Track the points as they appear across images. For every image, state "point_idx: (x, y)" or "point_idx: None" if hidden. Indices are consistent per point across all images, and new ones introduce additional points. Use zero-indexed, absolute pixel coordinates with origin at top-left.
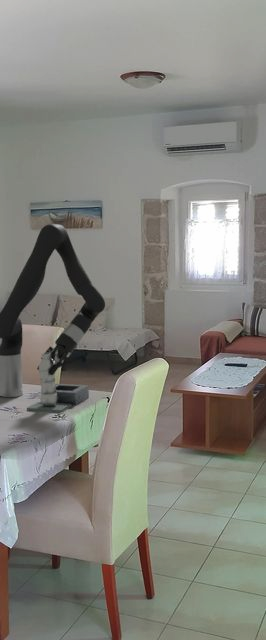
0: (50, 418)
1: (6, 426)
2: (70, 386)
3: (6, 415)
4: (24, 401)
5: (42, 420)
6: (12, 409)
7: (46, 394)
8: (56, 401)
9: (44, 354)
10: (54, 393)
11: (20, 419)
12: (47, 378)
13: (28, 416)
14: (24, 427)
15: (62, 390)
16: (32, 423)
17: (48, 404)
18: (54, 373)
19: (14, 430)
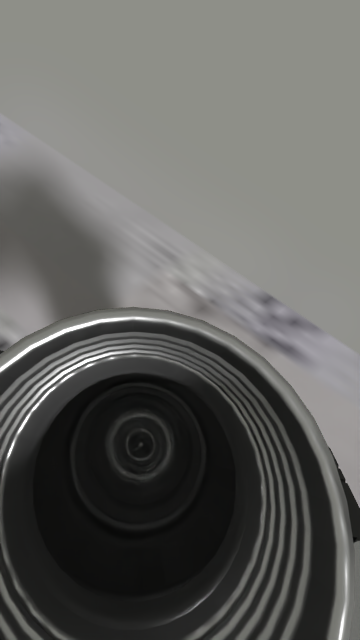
0: (2, 324)
1: (79, 170)
2: None
3: (201, 252)
4: (356, 453)
5: (14, 284)
6: (263, 321)
7: (113, 401)
8: (91, 465)
9: (59, 325)
10: (87, 458)
11: (107, 246)
12: (82, 396)
13: (114, 290)
14: (10, 191)
15: None
16: (21, 236)
17: (109, 410)
18: (44, 500)
19: (16, 156)
